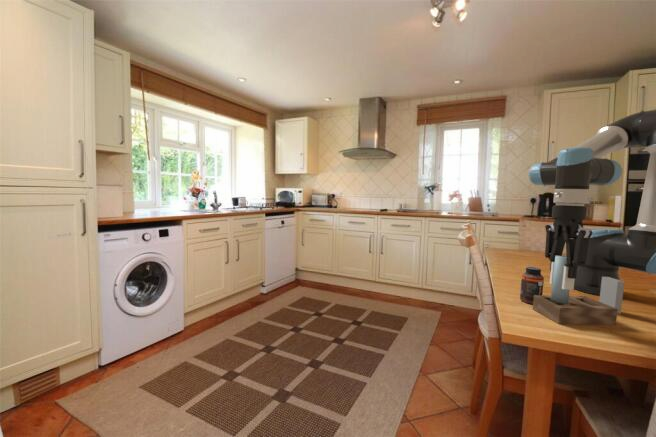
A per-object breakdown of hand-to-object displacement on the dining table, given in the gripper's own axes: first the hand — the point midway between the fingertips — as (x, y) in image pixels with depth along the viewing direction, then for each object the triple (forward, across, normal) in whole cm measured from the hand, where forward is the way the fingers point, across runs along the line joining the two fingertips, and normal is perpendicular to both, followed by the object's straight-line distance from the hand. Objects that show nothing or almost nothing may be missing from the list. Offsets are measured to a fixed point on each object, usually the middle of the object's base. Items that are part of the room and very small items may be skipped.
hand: (561, 286), depth 85 cm
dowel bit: (+4, 0, 0) cm, 4 cm away
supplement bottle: (+9, -12, 0) cm, 15 cm away
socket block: (+9, 0, +4) cm, 10 cm away
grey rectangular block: (+9, -5, +20) cm, 23 cm away
